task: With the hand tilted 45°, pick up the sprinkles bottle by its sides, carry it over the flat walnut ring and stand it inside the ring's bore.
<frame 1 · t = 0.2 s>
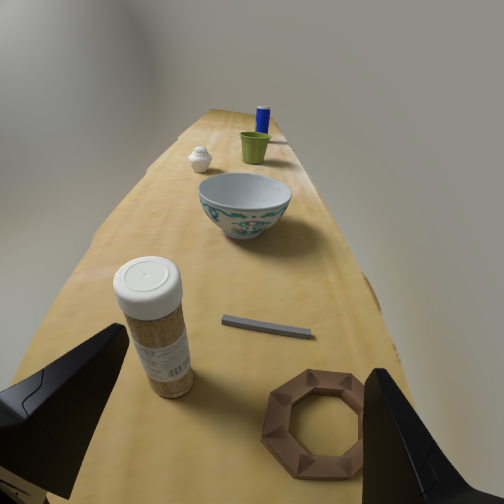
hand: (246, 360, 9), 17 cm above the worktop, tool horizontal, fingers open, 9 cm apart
grey rectangular bar: (265, 329, 31), on the worktop
plant pot: (252, 162, 83), on the worktop
sprinkles bottle: (171, 380, 25), on the worktop
chinaware: (241, 230, 49), on the worktop
walnut ring: (323, 426, 22), on the worktop
white rounded piece: (199, 171, 73), on the worktop
beverage can: (260, 142, 108), on the worktop
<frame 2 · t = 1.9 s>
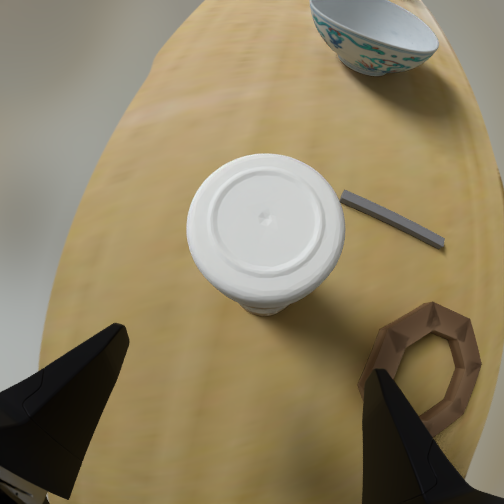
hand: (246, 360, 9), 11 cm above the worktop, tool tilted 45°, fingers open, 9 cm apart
grey rectangular bar: (393, 221, 21), on the worktop
sprinkles bottle: (263, 286, 21), on the worktop
chinaware: (362, 61, 27), on the worktop
walnut ring: (422, 375, 18), on the worktop
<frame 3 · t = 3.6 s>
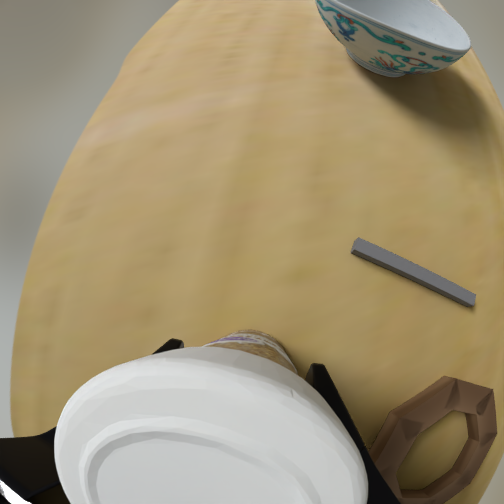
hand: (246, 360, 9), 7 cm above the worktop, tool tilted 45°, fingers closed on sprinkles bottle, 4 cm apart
grey rectangular bar: (418, 276, 16), on the worktop
sprinkles bottle: (248, 368, 15), on the worktop, touching gripper
chinaware: (376, 58, 21), on the worktop
walnut ring: (432, 451, 13), on the worktop
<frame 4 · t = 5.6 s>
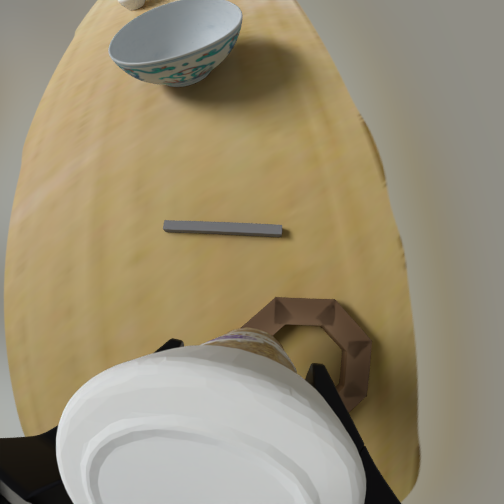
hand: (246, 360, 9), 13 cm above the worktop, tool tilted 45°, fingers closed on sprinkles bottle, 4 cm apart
grey rectangular bar: (221, 229, 24), on the worktop
sprinkles bottle: (247, 365, 15), point 6 cm above the worktop, touching gripper
chinaware: (186, 71, 29), on the worktop
walnut ring: (299, 367, 21), on the worktop
white rounded piece: (136, 7, 36), on the worktop
when the fingers open (8 cm above the worktop, at t = 7.4 s): sprinkles bottle drops 1 cm, resting in walnut ring.
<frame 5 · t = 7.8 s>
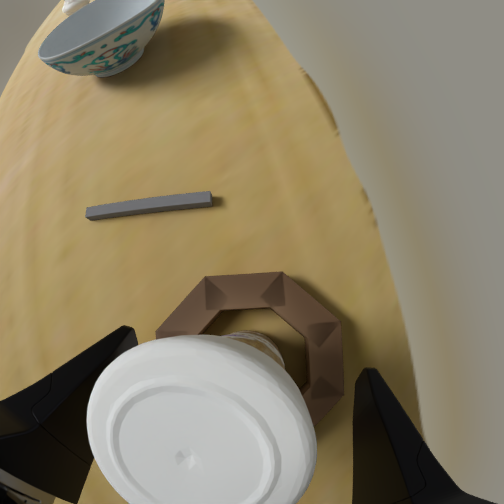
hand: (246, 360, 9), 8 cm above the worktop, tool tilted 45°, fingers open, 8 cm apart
grey rectangular bar: (145, 208, 20), on the worktop
sprinkles bottle: (246, 365, 17), resting in walnut ring
chinaware: (119, 60, 25), on the worktop
walnut ring: (250, 364, 17), on the worktop
white rounded piece: (81, 15, 32), on the worktop
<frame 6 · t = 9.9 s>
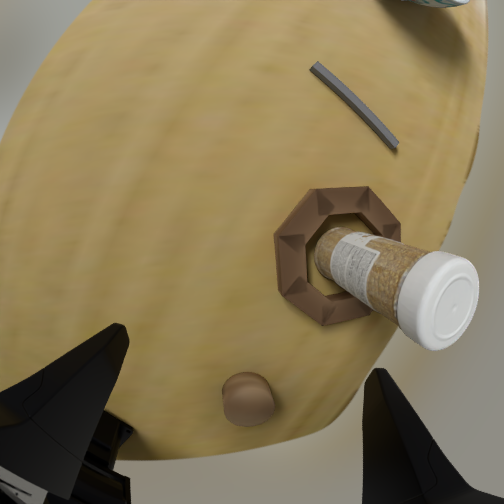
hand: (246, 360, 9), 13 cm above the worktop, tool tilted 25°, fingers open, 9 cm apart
grey rectangular bar: (354, 106, 21), on the worktop
sprinkles bottle: (335, 252, 23), resting in walnut ring
walnut ring: (339, 253, 23), on the worktop
small wooden bead: (245, 389, 24), on the worktop
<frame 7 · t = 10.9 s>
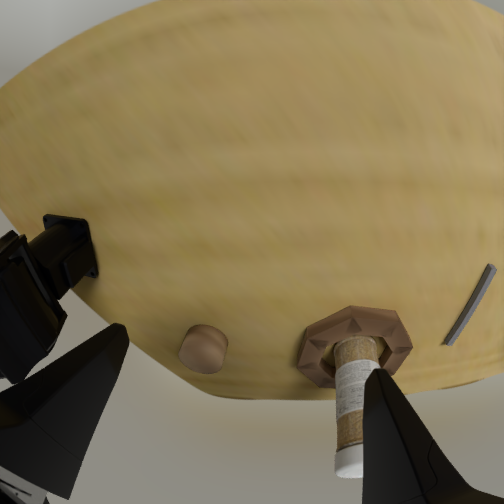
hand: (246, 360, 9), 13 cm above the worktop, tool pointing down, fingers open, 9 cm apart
grey rectangular bar: (468, 305, 22), on the worktop
sprinkles bottle: (354, 345, 26), resting in walnut ring
walnut ring: (354, 348, 26), on the worktop
small wooden bead: (207, 339, 28), on the worktop
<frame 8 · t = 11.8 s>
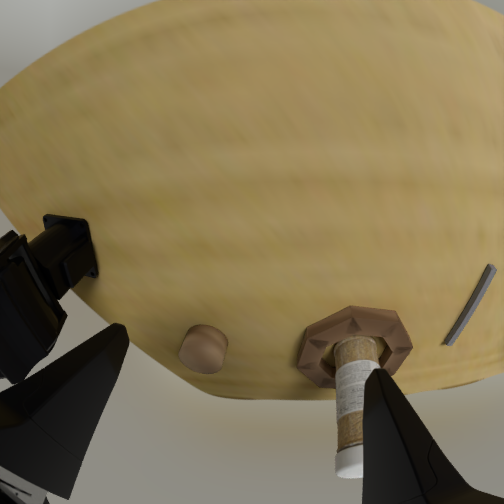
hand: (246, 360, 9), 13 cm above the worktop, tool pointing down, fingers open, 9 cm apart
grey rectangular bar: (468, 305, 22), on the worktop
sprinkles bottle: (354, 345, 26), resting in walnut ring
walnut ring: (354, 348, 26), on the worktop
small wooden bead: (207, 339, 28), on the worktop
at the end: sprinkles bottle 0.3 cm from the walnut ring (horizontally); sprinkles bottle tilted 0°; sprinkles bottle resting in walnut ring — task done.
